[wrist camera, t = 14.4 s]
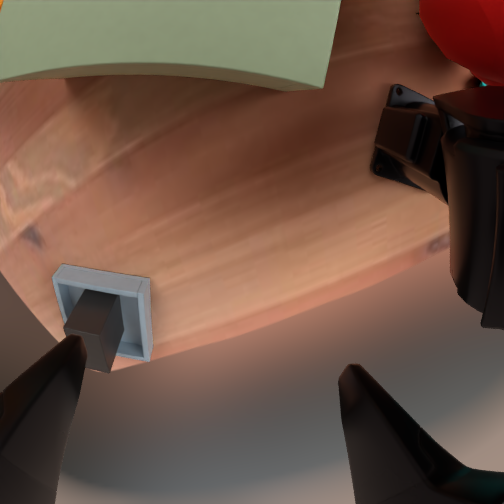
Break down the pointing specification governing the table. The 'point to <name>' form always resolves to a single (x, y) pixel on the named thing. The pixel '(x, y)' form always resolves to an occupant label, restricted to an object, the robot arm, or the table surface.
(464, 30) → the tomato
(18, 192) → the table surface
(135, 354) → the dish
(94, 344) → the charcoal rectangular block
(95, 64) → the cabinet
